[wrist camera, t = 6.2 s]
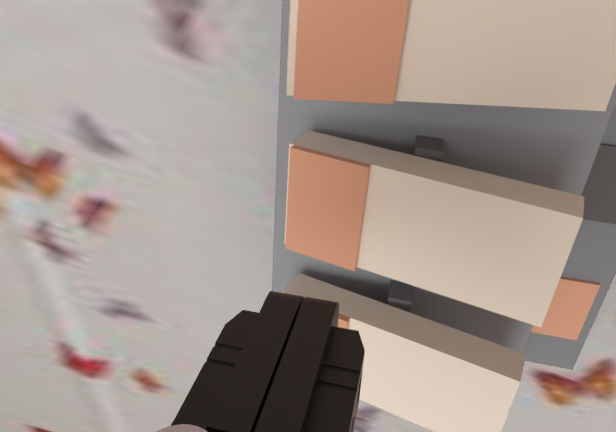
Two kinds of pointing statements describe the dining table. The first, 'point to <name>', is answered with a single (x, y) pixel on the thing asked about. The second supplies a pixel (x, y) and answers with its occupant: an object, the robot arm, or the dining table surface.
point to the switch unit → (485, 158)
